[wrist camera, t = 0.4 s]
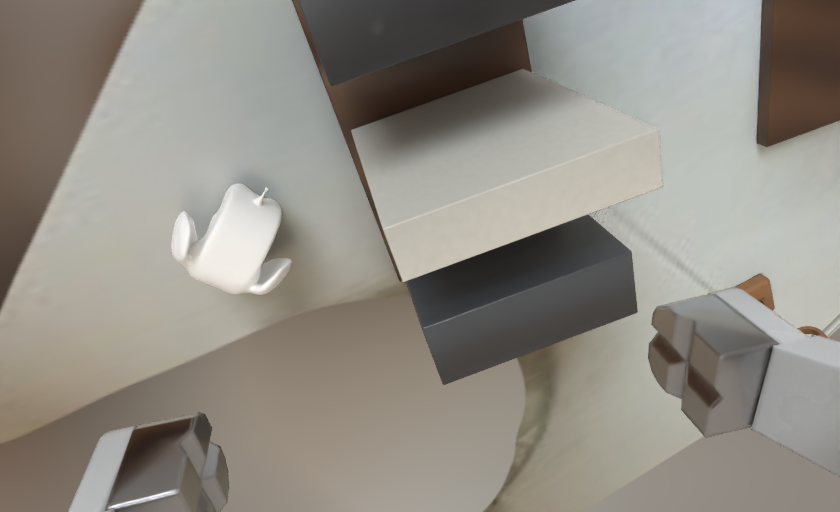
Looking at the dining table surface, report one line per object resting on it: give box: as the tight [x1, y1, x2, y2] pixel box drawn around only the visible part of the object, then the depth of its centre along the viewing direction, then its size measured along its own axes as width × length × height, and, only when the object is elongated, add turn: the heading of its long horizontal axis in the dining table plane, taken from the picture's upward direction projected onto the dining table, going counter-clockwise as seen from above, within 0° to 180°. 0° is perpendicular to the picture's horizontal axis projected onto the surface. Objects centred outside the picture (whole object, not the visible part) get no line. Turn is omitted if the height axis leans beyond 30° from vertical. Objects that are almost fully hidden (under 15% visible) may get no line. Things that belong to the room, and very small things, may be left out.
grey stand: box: [292, 0, 638, 385], centre depth 28 cm, size 20×12×12 cm, turn 17°
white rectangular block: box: [351, 69, 663, 282], centre depth 26 cm, size 2×11×14 cm, turn 107°
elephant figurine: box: [172, 184, 292, 295], centre depth 31 cm, size 7×8×6 cm
